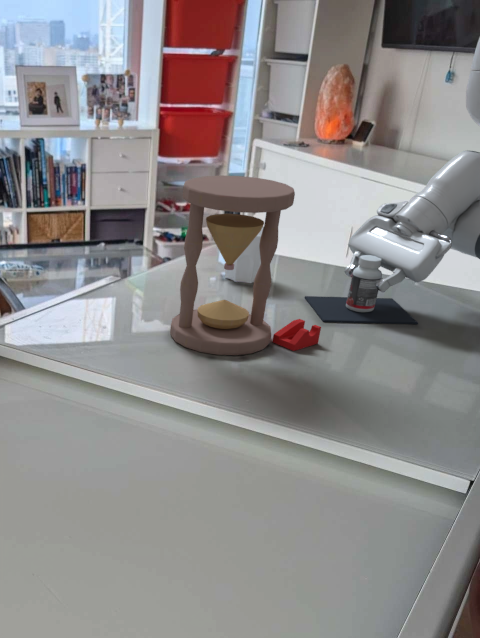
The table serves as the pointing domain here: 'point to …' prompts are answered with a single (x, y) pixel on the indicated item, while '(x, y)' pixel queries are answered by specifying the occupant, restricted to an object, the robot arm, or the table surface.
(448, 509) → the table surface
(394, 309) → the mat
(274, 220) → the hourglass
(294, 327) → the bracket
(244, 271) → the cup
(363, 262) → the pill bottle
